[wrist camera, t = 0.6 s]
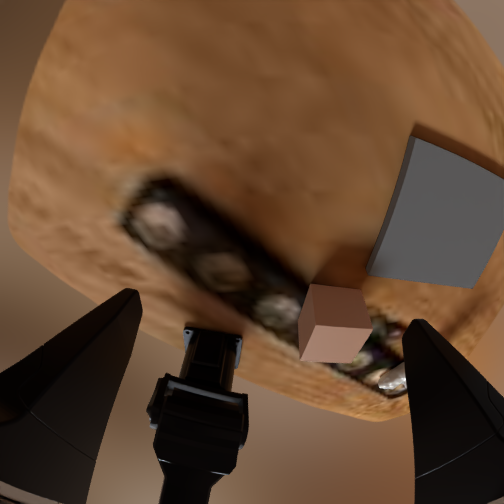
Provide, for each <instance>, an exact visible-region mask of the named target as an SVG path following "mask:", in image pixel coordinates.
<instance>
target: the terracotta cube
mask: <svg viewBox="0 0 504 504" xmlns="http://www.w3.org/2000/svg"><path fill="white" fill-rule="evenodd" d="M372 330H373V327H372V324H371V320H370V317H369V314H368V310H367V307H366V304H365V301H364V298H363V295H362V292H361V290H359V289H351V288H342V287H334V286H326V285H318V284H310V287H309V290H308V293H307V296H306V299H305V302H304V305H303V308H302V310H301V313H300V316H299V319H298V331H299V351H300V361H312V362H331V363H351V362H352V361H353V359H354V358H355V356H356V355H357V354H358V352H359V351H360V349H361V347H362V346H363V344H364V343H365V341H366V340H367V338H368V337H369V335H370V333H371V332H372Z"/></svg>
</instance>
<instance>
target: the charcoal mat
mask: <svg viewBox="0 0 504 504" xmlns="http://www.w3.org/2000/svg"><path fill="white" fill-rule="evenodd" d="M503 230H504V179H502V178H501V177H499V176H497V175H495V174H494V173H492V172H490V171H488V170H486V169H485V168H483V167H481V166H479V165H477V164H475V163H473V162H471V161H469V160H467V159H465V158H463V157H461V156H459V155H457V154H454V153H452V152H450V151H448V150H445V149H443V148H441V147H439V146H436V145H434V144H431V143H429V142H426V141H424V140H421V139H419V138H416V137H413V136H411V135H410V137H409V141H408V145H407V149H406V153H405V156H404V160H403V164H402V167H401V170H400V174H399V177H398V181H397V184H396V187H395V190H394V193H393V196H392V199H391V202H390V205H389V208H388V211H387V214H386V217H385V220H384V223H383V225H382V228H381V231H380V233H379V236H378V239H377V241H376V244H375V246H374V249H373V251H372V254H371V256H370V259H369V261H368V264H367V266H366V271H367V273H368V275H370V276H377V277H385V278H392V279H400V280H408V281H415V282H423V283H431V284H439V285H447V286H455V287H463V288H471V289H473V287H474V286H475V284H476V282H477V281H478V279H479V277H480V275H481V274H482V272H483V270H484V268H485V266H486V265H487V263H488V261H489V259H490V257H491V255H492V253H493V251H494V249H495V247H496V245H497V243H498V241H499V239H500V237H501V235H502V232H503Z"/></svg>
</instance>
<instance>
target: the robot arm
mask: <svg viewBox="0 0 504 504" xmlns="http://www.w3.org/2000/svg"><path fill="white" fill-rule="evenodd" d="M142 312H143V309H142V304H141V300H140V295H139V292H138V291H137V290H135V289H130V288H125V289H123V290H122V291H120V292H119V293H117V294H116V295H114V296H113V297H111V298H110V299H108V300H107V301H105V302H104V303H102V304H101V305H99V306H98V307H96V308H95V309H93V310H92V311H90V312H89V313H87V314H86V315H84V316H83V317H81V318H80V319H79V320H77V321H76V322H74V323H73V324H71V325H70V326H68V327H67V328H66V329H64V330H63V331H61V332H60V333H59V334H57V335H56V336H54V337H53V338H52V339H50V340H49V341H47V342H46V343H45V344H44V346H43V345H42V346H40V347H39V348H38V349H36V350H35V351H33V352H32V353H30V354H29V355H28V356H26V357H25V358H23V359H22V360H20V361H19V362H17V363H16V364H14V365H12V366H11V367H10V368H8V369H6V370H4V371H3V372H1V373H0V504H59V503H63V504H86V500H87V496H88V491H89V487H90V483H91V479H92V475H93V471H94V467H95V463H96V459H97V456H98V452H99V449H100V445H101V442H102V439H103V435H104V432H105V429H106V426H107V422H108V419H109V416H110V413H111V410H112V407H113V404H114V401H115V398H116V395H117V392H118V390H119V387H120V384H121V381H122V379H123V376H124V373H125V370H126V368H127V365H128V363H129V359H130V357H131V354H132V350H133V346H134V342H135V339H136V335H137V331H138V328H139V324H140V321H141V318H142ZM183 335H184V344H185V353H186V354H185V357H184V361H183V364H182V368H181V371H180V375H179V377H175V376H172V375H170V374H169V373H166V374H165V377H163V378H159V379H158V381H157V384H156V388H155V390H154V393H153V395H152V398H151V400H150V402H149V404H148V407H147V410H146V412H147V413H148V415H149V417H150V421H151V422H150V428H152V429H155V430H156V434H155V438H154V442H153V448H154V450H155V453H156V456H157V458H158V461H159V463H160V466H161V469H162V471H163V474H164V480H163V485H162V489H161V494H160V499H159V504H208V502H209V497H210V492H211V488H212V486H213V485H214V484H216V482H218V481H219V480H220V479H221V478H222V477H223V476H224V475H229V474H230V473H231V472H232V470H233V469H234V468H235V467H236V462H237V455H238V450H239V449H242V448H243V446H244V444H245V442H246V439H247V434H248V427H249V416H248V394H244V393H242V394H240V393H235V392H231V389H232V382H233V375H234V369H237V368H238V364H239V358H240V352H241V345H242V337H241V336H239V335H233V334H226V333H220V332H213V331H207V330H202V329H196V328H190V327H185V328H184V330H183ZM402 346H403V356H404V367H405V378H406V386H407V392H408V399H409V406H410V414H411V423H412V433H413V445H414V463H415V503H414V504H504V397H503V396H502V395H501V394H500V393H498V391H497V390H496V389H495V388H494V387H493V386H492V385H491V384H490V383H489V382H488V381H487V380H486V379H485V378H484V377H483V376H482V375H481V374H480V372H478V371H477V369H475V368H474V366H473V365H472V364H470V362H469V361H468V360H467V359H466V358H465V357H464V356H463V355H462V354H461V353H460V352H459V351H457V350H456V349H455V348H454V347H453V346H452V345H451V344H450V343H449V342H448V341H447V340H446V339H445V338H444V337H443V336H442V335H441V334H440V333H439V332H438V331H436V330H435V329H434V328H433V327H432V326H431V325H430V324H429V323H428V322H427V321H426V320H424V319H414V320H412V322H411V323H410V325H409V326H408V328H407V329H406V331H405V333H404V334H403V337H402Z"/></svg>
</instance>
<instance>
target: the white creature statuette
mask: <svg viewBox="0 0 504 504" xmlns="http://www.w3.org/2000/svg"><path fill="white" fill-rule="evenodd" d="M402 383H403V384H404V385H405V388H407V386H406V378H405V367H404V362H403V363H401V364H400V365H398V366H397V367H395V368H393V369H392V370H390V371H389V372H387V373H385V374H384V375H382V376H381V378H380V379H379V380H378V385H379V387H380V388H383V389H394V388H395V387H396V386H398V385H399V384H402ZM408 400H409V399H408Z"/></svg>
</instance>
